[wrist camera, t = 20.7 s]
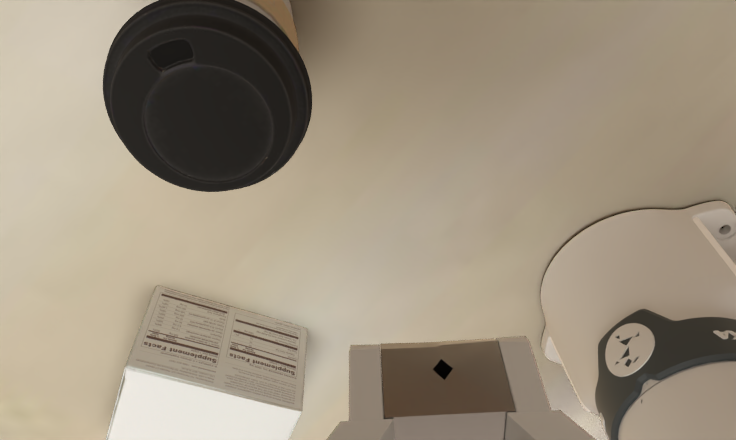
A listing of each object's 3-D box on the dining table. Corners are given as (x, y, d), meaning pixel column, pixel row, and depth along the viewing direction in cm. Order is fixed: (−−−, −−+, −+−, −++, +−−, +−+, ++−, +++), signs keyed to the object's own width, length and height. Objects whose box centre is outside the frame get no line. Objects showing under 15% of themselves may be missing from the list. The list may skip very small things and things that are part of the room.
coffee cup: (231, -104, 38) (174, -45, 26) (353, 11, 42) (354, 111, 30) (138, 17, 42) (49, 120, 30) (257, 112, 46) (223, 240, 33)
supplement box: (253, 448, 65) (240, 540, 58) (115, 416, 62) (82, 508, 55) (311, 326, 57) (305, 414, 49) (155, 282, 54) (122, 368, 46)
